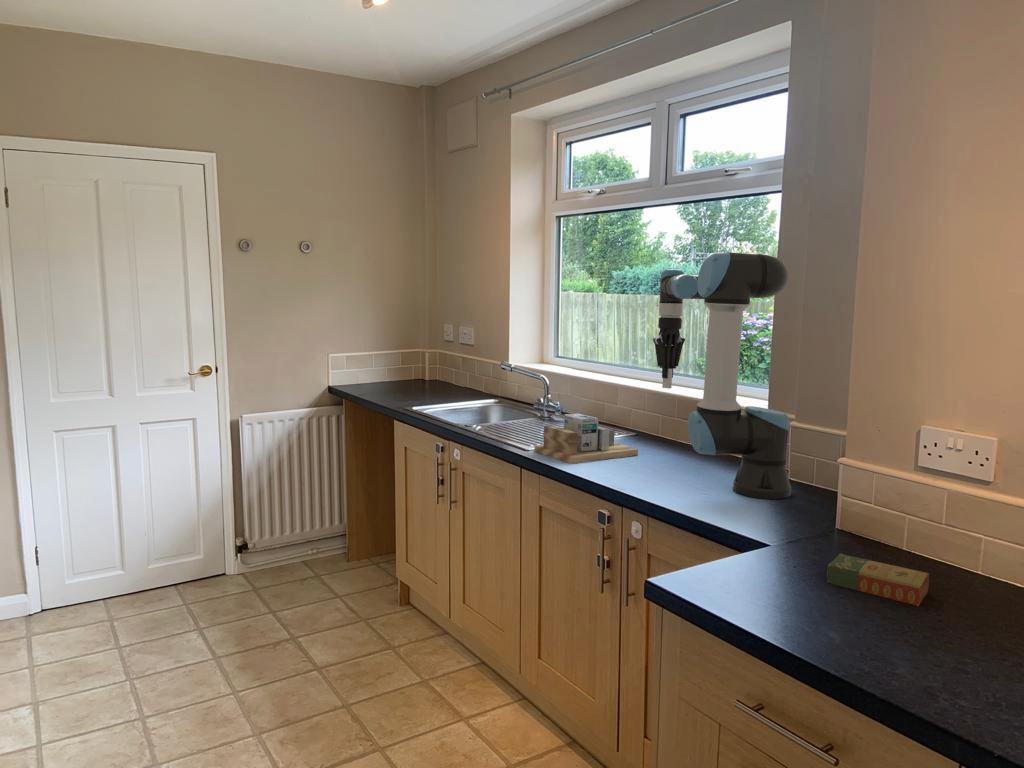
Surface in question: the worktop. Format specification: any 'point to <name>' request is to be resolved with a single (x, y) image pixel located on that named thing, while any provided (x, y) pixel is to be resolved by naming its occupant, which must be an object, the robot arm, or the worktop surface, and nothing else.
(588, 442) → the light bulb box
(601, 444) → the sliding jaw
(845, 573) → the carton
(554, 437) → the vise
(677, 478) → the worktop surface
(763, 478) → the robot arm
